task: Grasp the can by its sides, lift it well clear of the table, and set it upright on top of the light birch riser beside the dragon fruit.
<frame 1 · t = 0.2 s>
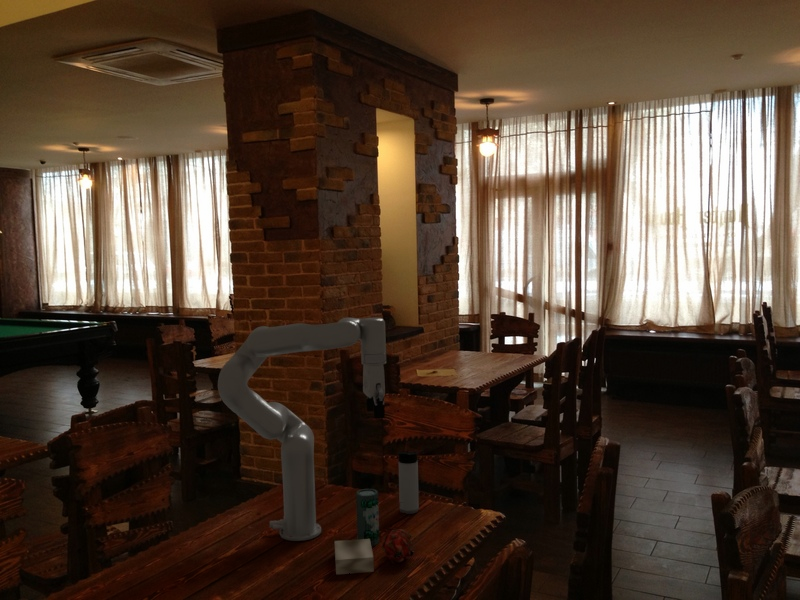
hand: (375, 414, 212), 36 cm above the table, tool pointing down, fingers open, 9 cm apart
travel mug: (409, 511, 229), on the table
can: (368, 542, 205), on the table
dragon fruit: (398, 560, 193), on the table
riser: (353, 563, 192), on the table
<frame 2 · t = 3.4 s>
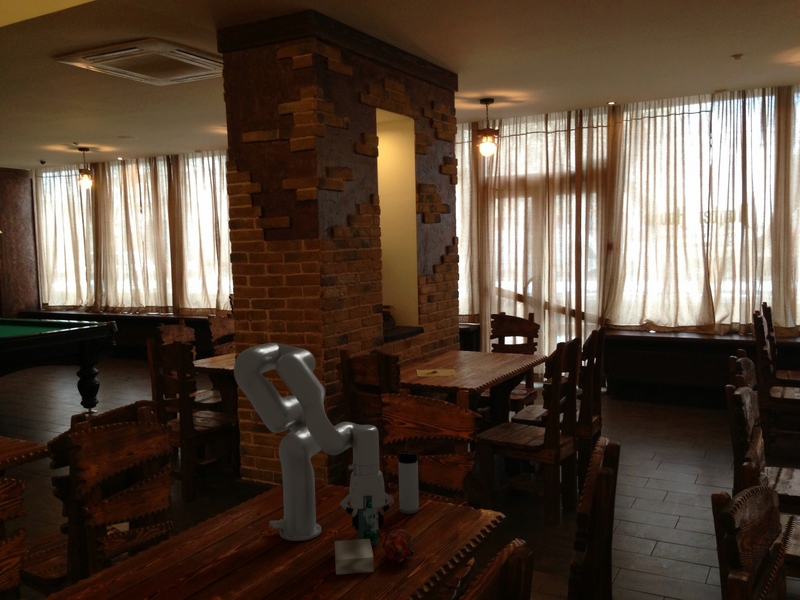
hand: (368, 527, 205), 4 cm above the table, tool pointing down, fingers closed on can, 6 cm apart
can: (368, 542, 205), on the table, touching gripper
everything else where it was.
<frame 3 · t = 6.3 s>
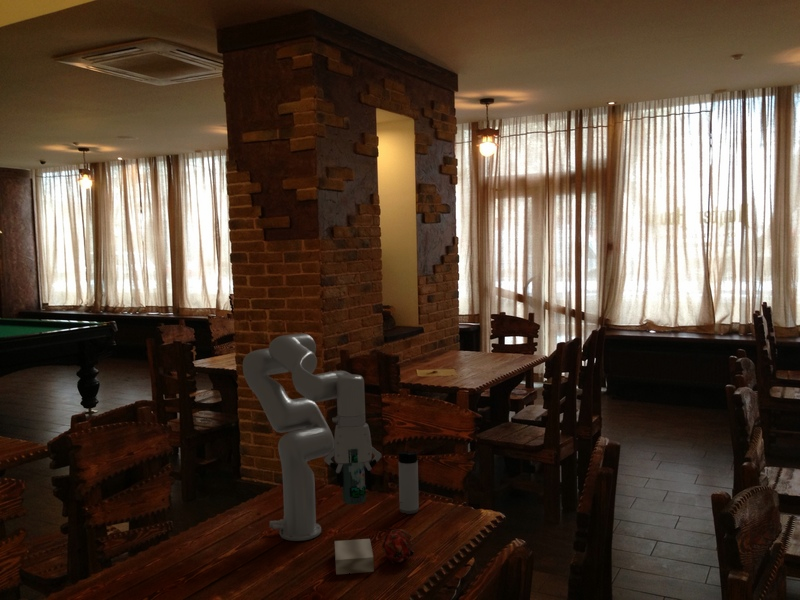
hand: (353, 484, 191), 22 cm above the table, tool pointing down, fingers closed on can, 6 cm apart
can: (354, 500, 192), point 17 cm above the table, touching gripper
everything else where it was.
when the fingers open (10 cm above the table, at t = 9.6 s): can drops 1 cm, resting on riser.
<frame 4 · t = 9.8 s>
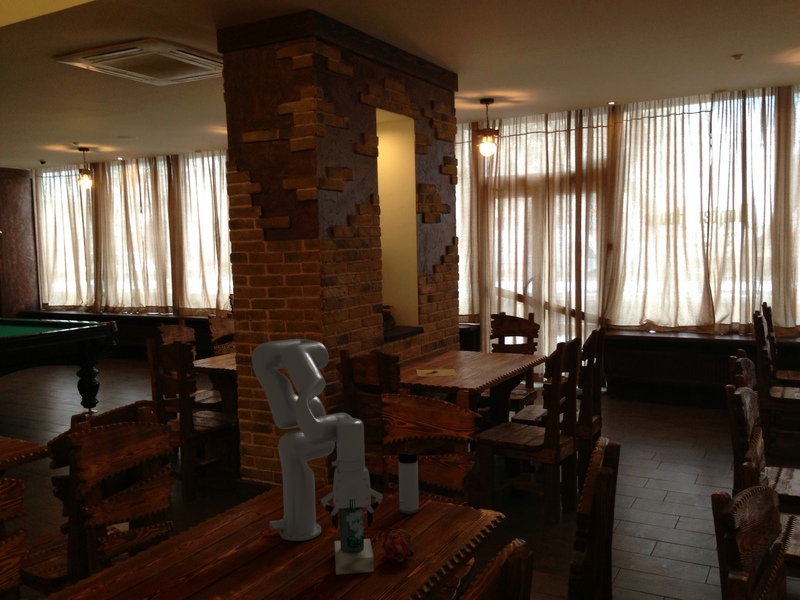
hand: (352, 526, 191), 10 cm above the table, tool pointing down, fingers open, 8 cm apart
can: (352, 549, 192), point 4 cm above the table, touching riser
everything else where it was.
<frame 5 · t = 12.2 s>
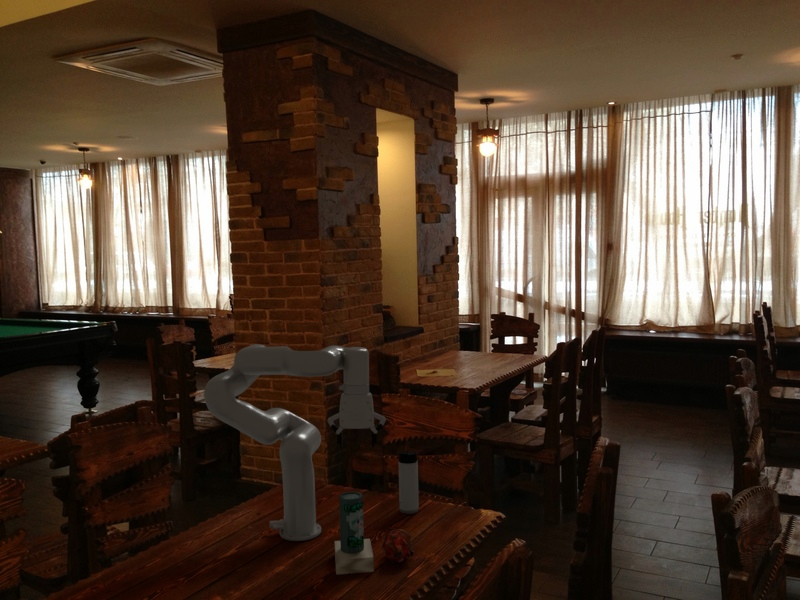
hand: (357, 446, 207), 28 cm above the table, tool pointing down, fingers open, 9 cm apart
nothing on the table moved.
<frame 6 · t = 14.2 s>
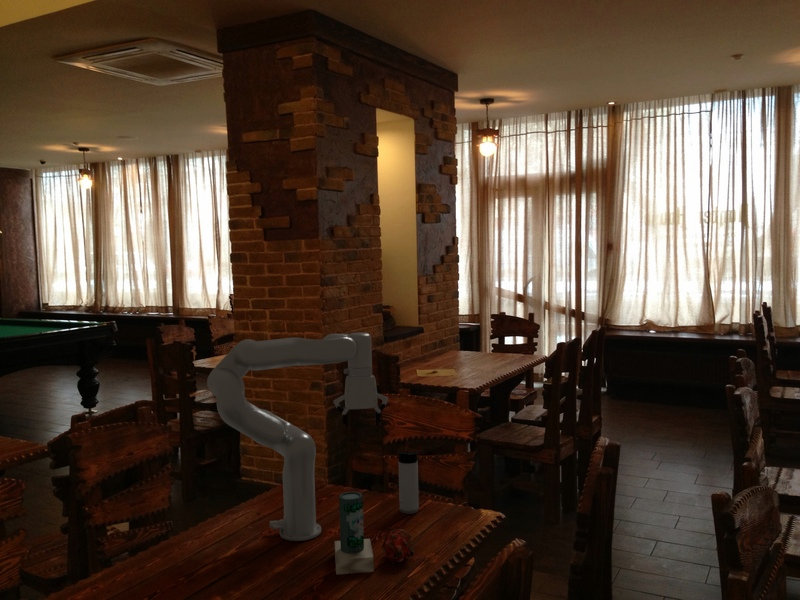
hand: (361, 425, 221), 30 cm above the table, tool pointing down, fingers open, 9 cm apart
nothing on the table moved.
at the end: can 0.3 cm off-centre on the riser, point 3.8 cm above the riser's base; can tilted 0°; the gripper is holding nothing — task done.
